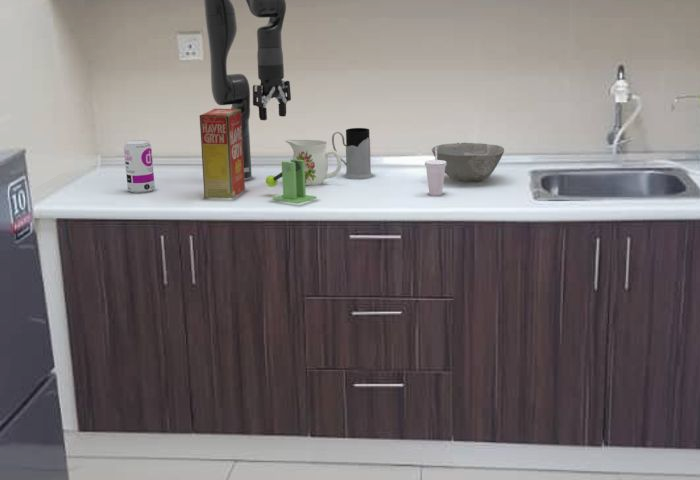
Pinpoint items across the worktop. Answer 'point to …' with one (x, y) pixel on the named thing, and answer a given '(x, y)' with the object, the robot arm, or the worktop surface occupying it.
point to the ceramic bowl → (469, 160)
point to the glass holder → (356, 153)
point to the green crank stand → (293, 183)
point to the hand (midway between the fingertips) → (273, 118)
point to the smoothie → (435, 175)
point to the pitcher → (314, 159)
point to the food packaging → (222, 153)
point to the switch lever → (278, 177)
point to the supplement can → (139, 166)
